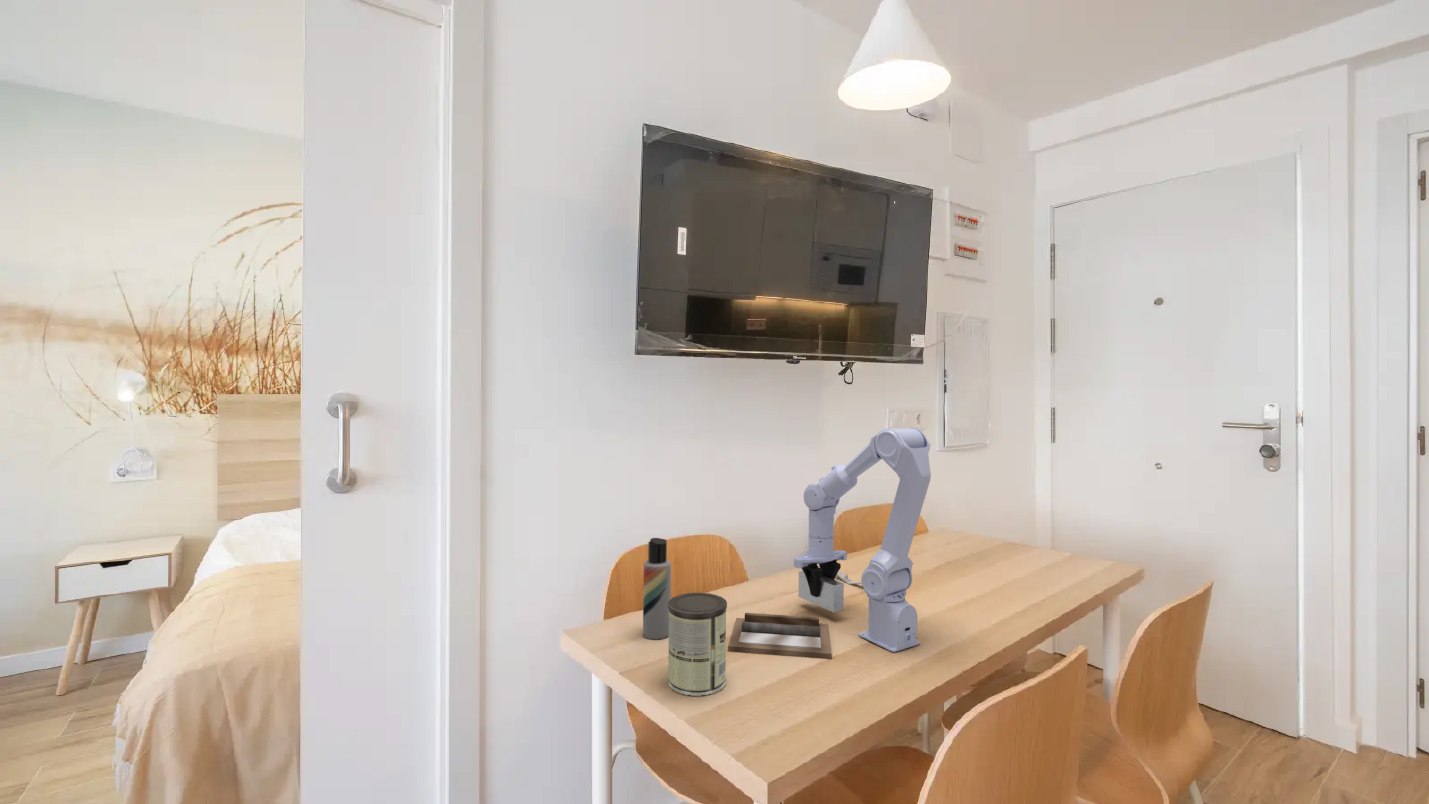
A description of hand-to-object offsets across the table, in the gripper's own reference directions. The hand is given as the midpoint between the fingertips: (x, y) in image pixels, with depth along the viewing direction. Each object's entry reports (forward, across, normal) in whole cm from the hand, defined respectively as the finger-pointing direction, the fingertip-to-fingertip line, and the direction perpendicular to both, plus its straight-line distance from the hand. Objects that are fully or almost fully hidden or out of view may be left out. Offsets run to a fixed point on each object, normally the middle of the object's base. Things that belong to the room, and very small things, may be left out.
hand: (820, 594), depth 137 cm
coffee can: (+5, +41, +14) cm, 44 cm away
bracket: (+5, -22, -12) cm, 26 cm away
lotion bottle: (+4, +38, -8) cm, 39 cm away
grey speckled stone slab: (+2, 0, 0) cm, 2 cm away
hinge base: (+4, +17, +7) cm, 19 cm away
